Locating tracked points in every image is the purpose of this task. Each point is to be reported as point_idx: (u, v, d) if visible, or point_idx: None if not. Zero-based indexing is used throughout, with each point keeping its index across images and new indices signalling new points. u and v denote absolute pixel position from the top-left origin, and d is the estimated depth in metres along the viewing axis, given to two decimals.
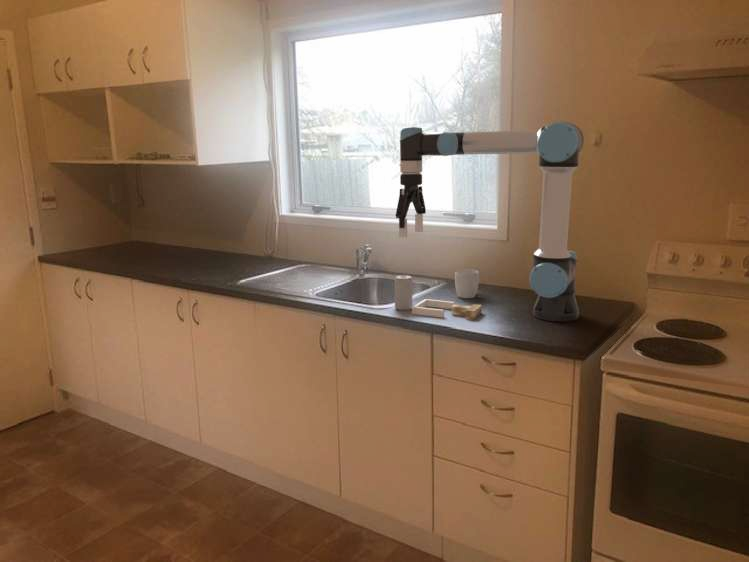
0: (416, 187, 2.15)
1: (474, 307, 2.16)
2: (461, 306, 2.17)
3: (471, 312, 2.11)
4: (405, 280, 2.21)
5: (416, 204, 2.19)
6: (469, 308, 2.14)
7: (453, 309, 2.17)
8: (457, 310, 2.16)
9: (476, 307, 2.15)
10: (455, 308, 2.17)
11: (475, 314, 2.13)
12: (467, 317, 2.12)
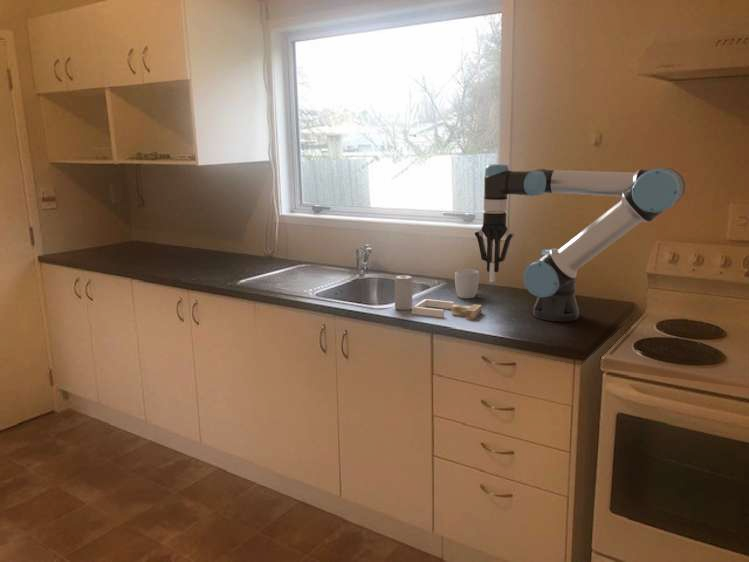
0: (502, 226, 2.04)
1: (474, 307, 2.16)
2: (461, 306, 2.17)
3: (471, 312, 2.11)
4: (405, 280, 2.21)
5: None
6: (469, 308, 2.14)
7: (453, 309, 2.17)
8: (457, 310, 2.16)
9: (476, 307, 2.15)
10: (455, 308, 2.17)
11: (475, 314, 2.13)
12: (467, 317, 2.12)
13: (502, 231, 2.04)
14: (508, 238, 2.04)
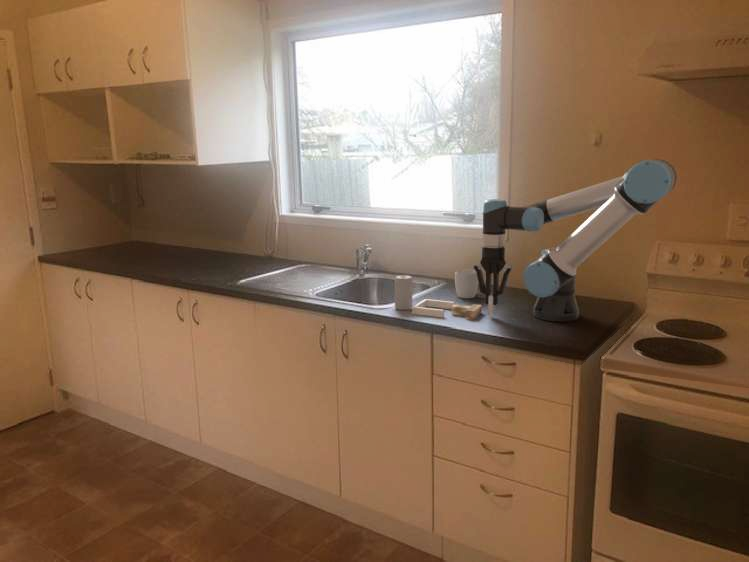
0: (500, 260, 2.06)
1: (474, 307, 2.16)
2: (461, 306, 2.17)
3: (471, 312, 2.11)
4: (405, 280, 2.21)
5: None
6: (469, 308, 2.14)
7: (453, 309, 2.17)
8: (457, 310, 2.16)
9: (476, 307, 2.15)
10: (455, 308, 2.17)
11: (475, 314, 2.13)
12: (467, 317, 2.12)
13: (500, 265, 2.07)
14: (506, 272, 2.06)
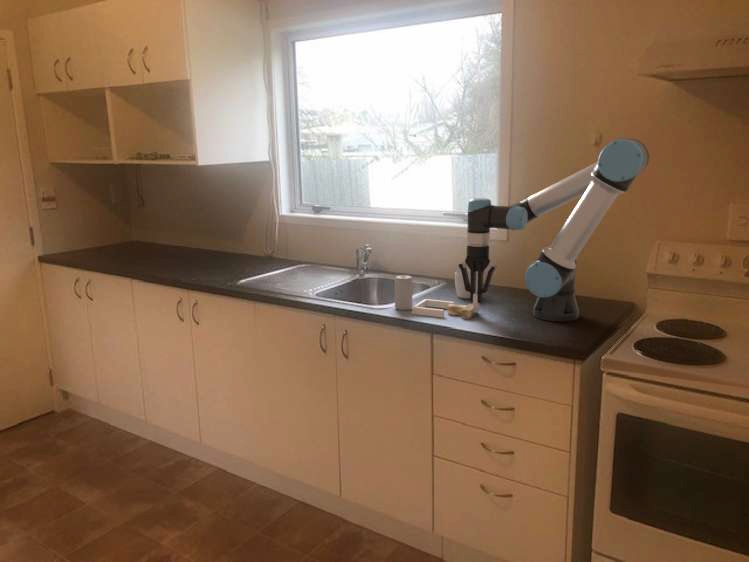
0: (484, 258, 2.09)
1: (470, 306, 2.16)
2: (457, 305, 2.17)
3: (467, 311, 2.12)
4: (405, 280, 2.21)
5: None
6: (465, 307, 2.15)
7: (449, 308, 2.18)
8: (453, 309, 2.17)
9: (472, 306, 2.16)
10: (451, 307, 2.17)
11: (471, 313, 2.13)
12: (463, 316, 2.13)
13: (485, 263, 2.09)
14: (491, 270, 2.09)
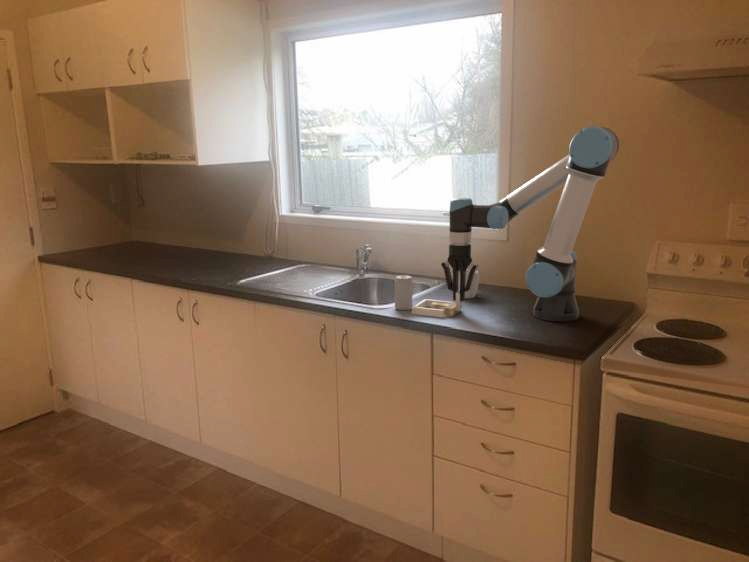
0: (466, 257, 2.11)
1: (453, 304, 2.19)
2: (440, 304, 2.20)
3: (449, 309, 2.14)
4: (405, 280, 2.21)
5: None
6: (448, 306, 2.17)
7: (432, 307, 2.20)
8: (436, 308, 2.20)
9: (455, 305, 2.18)
10: (434, 306, 2.20)
11: (454, 311, 2.16)
12: (446, 314, 2.15)
13: (467, 262, 2.12)
14: (472, 269, 2.11)
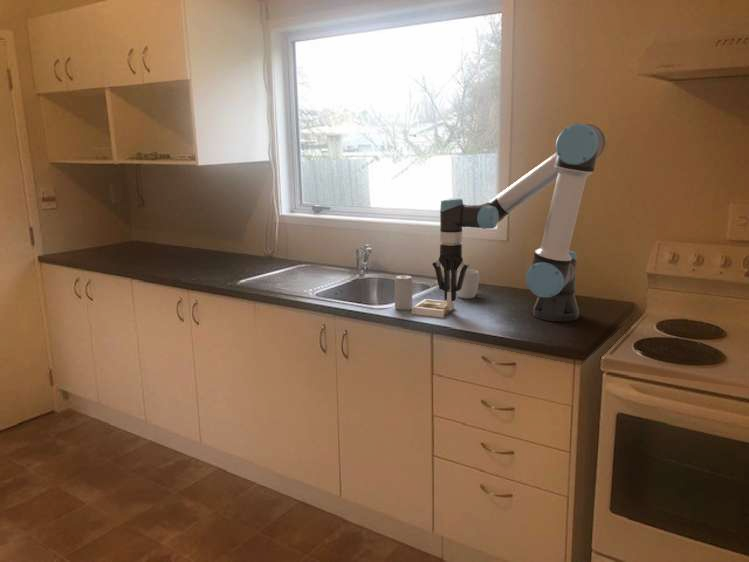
0: (457, 257, 2.13)
1: (445, 304, 2.20)
2: (432, 303, 2.21)
3: (441, 309, 2.16)
4: (405, 280, 2.21)
5: None
6: (439, 305, 2.19)
7: (424, 306, 2.22)
8: (428, 307, 2.21)
9: (446, 304, 2.20)
10: (426, 305, 2.21)
11: (445, 310, 2.17)
12: None
13: (458, 262, 2.13)
14: (463, 269, 2.13)
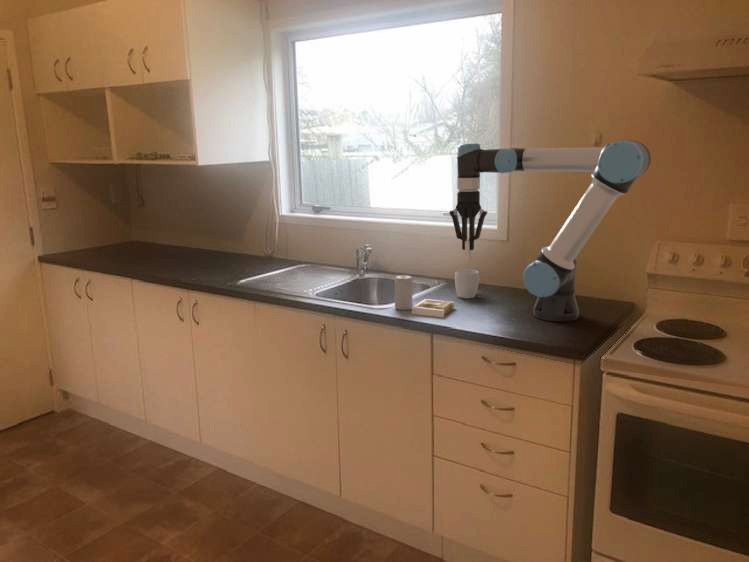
0: (475, 204, 2.08)
1: (444, 304, 2.20)
2: (431, 303, 2.21)
3: None
4: (405, 280, 2.21)
5: None
6: (439, 305, 2.19)
7: (424, 306, 2.22)
8: (427, 307, 2.21)
9: (446, 304, 2.20)
10: (426, 305, 2.21)
11: (445, 310, 2.17)
12: None
13: (476, 209, 2.08)
14: (482, 216, 2.07)
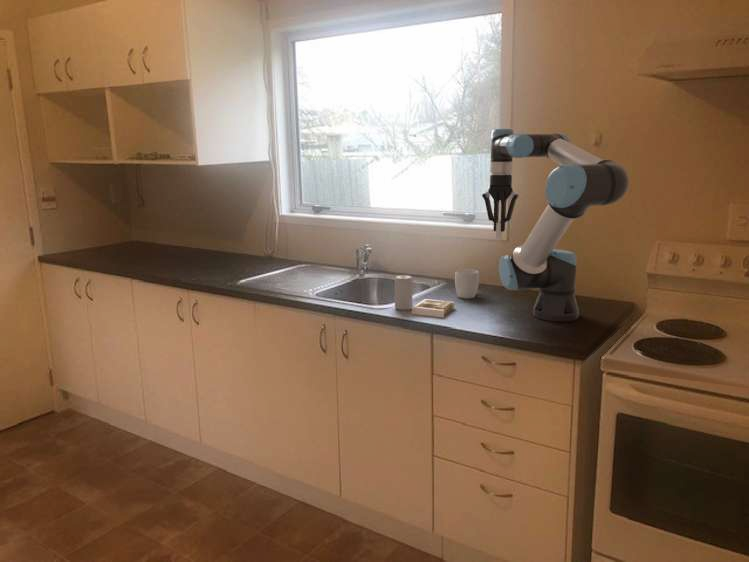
0: (507, 187, 2.16)
1: (444, 304, 2.20)
2: (431, 303, 2.21)
3: None
4: (405, 280, 2.21)
5: None
6: (439, 305, 2.19)
7: (424, 306, 2.22)
8: (427, 307, 2.21)
9: (446, 304, 2.20)
10: (426, 305, 2.21)
11: (445, 310, 2.17)
12: None
13: (508, 192, 2.17)
14: (513, 198, 2.16)
